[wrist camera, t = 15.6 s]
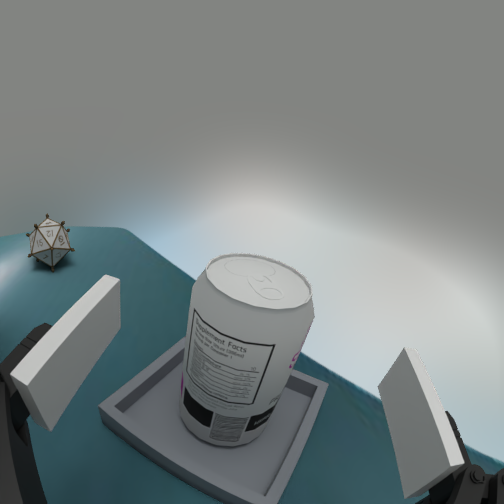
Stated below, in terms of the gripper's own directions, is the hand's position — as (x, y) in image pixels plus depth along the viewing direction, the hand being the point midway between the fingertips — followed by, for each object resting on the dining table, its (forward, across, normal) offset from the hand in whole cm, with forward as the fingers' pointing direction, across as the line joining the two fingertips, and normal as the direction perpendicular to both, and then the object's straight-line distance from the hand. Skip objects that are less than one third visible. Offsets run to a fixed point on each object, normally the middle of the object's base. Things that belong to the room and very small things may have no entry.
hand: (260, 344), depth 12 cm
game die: (+24, -33, -18) cm, 45 cm away
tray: (+7, 0, -16) cm, 18 cm away
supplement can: (+7, 0, -16) cm, 17 cm away
